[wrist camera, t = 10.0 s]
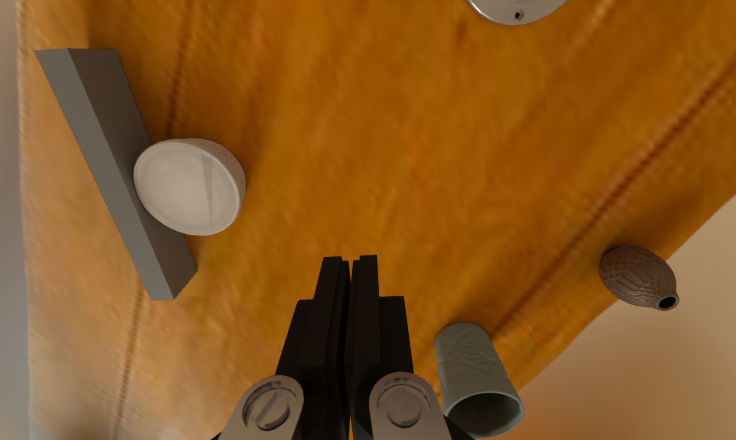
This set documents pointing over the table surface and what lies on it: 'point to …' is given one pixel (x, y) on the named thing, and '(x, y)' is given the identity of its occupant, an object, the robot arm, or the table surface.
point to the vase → (639, 278)
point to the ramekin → (190, 185)
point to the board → (117, 159)
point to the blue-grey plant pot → (475, 382)
